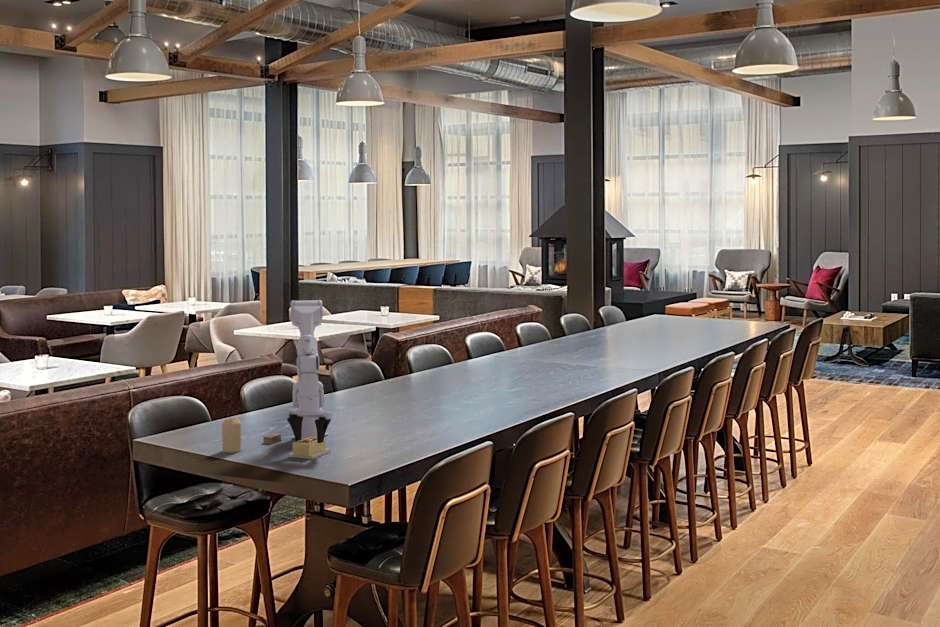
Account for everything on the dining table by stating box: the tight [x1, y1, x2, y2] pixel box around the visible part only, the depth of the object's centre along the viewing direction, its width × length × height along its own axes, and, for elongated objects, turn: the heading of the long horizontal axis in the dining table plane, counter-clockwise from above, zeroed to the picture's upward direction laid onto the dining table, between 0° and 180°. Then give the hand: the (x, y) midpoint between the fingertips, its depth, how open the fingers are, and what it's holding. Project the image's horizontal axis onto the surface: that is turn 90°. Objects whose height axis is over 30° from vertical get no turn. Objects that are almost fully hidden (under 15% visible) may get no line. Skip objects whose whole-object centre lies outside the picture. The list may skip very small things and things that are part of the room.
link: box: [292, 437, 327, 455], centre depth 298 cm, size 9×6×3 cm, turn 156°
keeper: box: [288, 439, 331, 460], centre depth 298 cm, size 10×8×4 cm
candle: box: [221, 417, 242, 454], centre depth 303 cm, size 6×6×10 cm
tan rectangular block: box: [262, 433, 282, 445], centre depth 316 cm, size 5×3×2 cm, turn 156°
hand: (309, 441), depth 298 cm, fingers open, 7 cm apart
